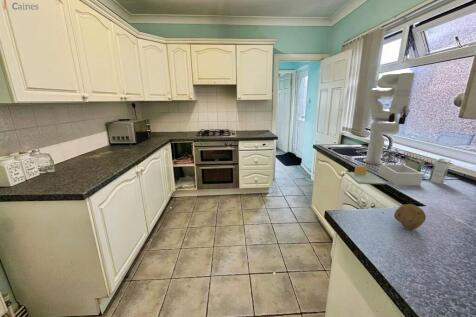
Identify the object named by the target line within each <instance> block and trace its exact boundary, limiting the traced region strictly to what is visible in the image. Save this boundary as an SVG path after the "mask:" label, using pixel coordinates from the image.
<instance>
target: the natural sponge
mask: <svg viewBox="0 0 476 317" xmlns="http://www.w3.org/2000/svg"><path fill="white" fill-rule="evenodd" d="M394 218H395V220H396V221H398V222H399V223H400V224H401V225H402V226H403V227H404V228H405V227H406V228H405V229H407V228H408V229H407V230H410V229H411V230H415V229H418V228H420V227H421V226H422V225H423V224H424V222H425V221H426V218H427V217H426V213H425V211H424V210H423V209H422V208H421V207H419V206H417V205H415V204H412V203H408V204H407V203H405V204H402V205H400V206H399V207H398V208H397V209H396V210H395V211H394Z"/></svg>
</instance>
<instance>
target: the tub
mask: <svg viewBox="0 0 476 317" xmlns="http://www.w3.org/2000/svg"><path fill="white" fill-rule="evenodd" d="M378 176H380V177H381V178H383V179H384V180H387V181H388V182H390V183H391V184H393V186H394V185H397V186H421V184H422V180H423V177H424V173H423V172H419V171H416V170H414V169H412V168H410V167H408V166H406V165H405V164H397V163H396V164H391V163H389V164H388V163H385V164H384V163H382V164H379V170H378Z"/></svg>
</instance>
